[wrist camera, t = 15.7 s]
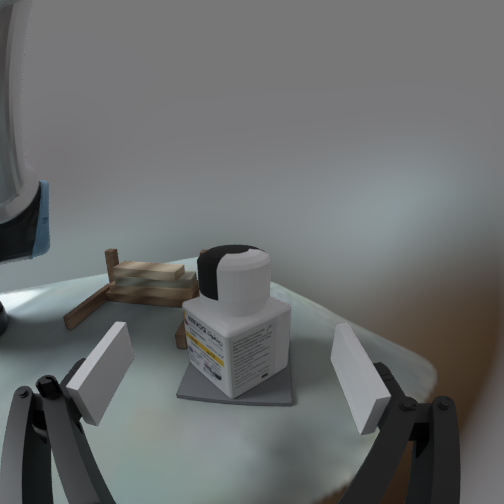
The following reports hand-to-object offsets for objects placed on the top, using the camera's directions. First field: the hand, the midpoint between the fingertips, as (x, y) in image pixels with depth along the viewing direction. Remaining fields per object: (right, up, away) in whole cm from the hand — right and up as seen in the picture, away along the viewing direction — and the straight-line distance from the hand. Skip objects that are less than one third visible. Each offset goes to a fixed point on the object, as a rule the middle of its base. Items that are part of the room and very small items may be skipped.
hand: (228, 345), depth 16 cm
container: (0, -7, +12) cm, 14 cm away
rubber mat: (0, -7, +12) cm, 14 cm away
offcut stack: (-16, -1, +29) cm, 33 cm away
